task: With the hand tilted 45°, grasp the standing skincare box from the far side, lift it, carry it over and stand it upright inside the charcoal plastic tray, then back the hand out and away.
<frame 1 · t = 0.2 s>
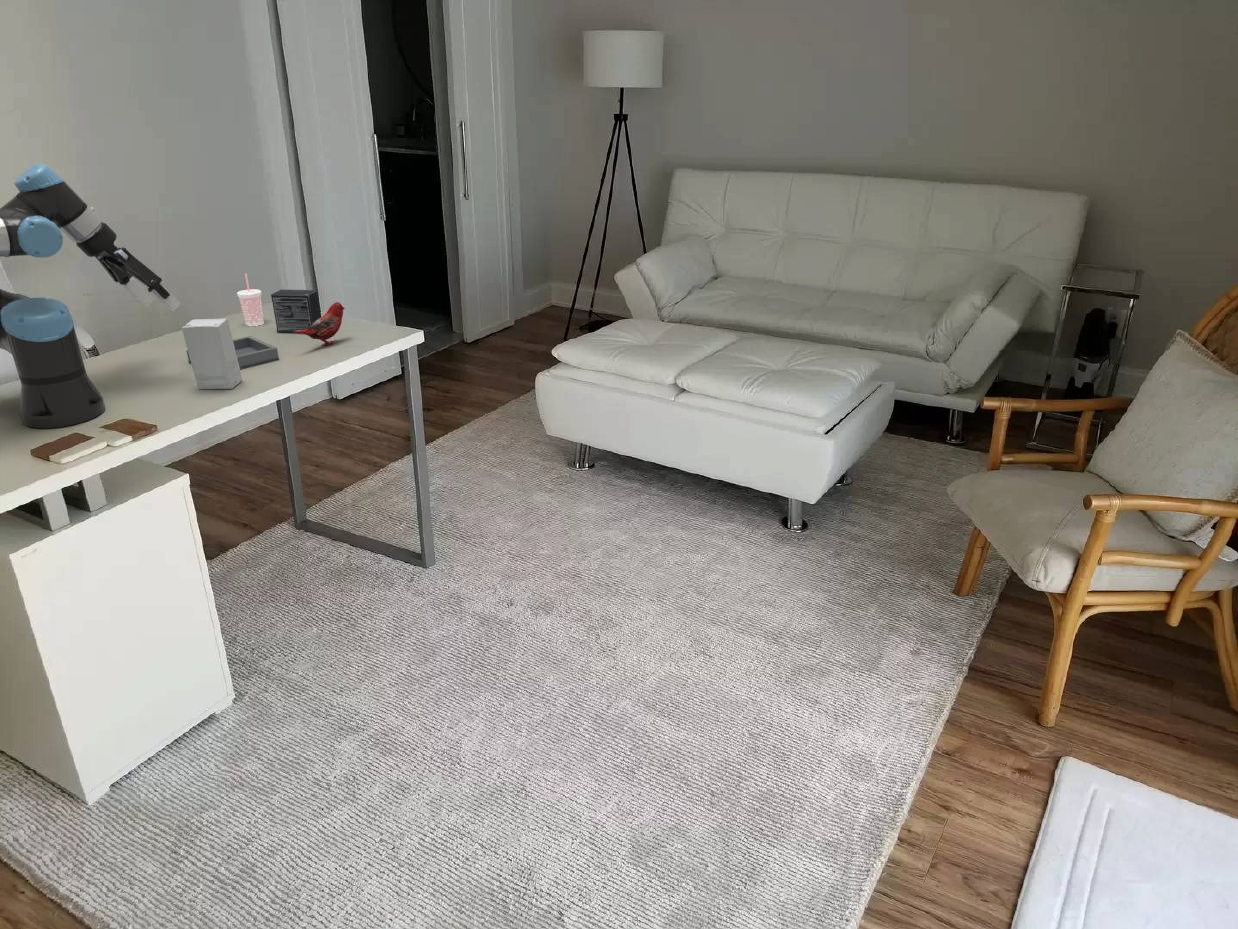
hand: (163, 305, 206), 15 cm above the table, tool tilted 30°, fingers open, 13 cm apart
tray: (234, 360, 217), on the table
decorative bird figurine: (323, 347, 228), on the table
skincare box: (219, 386, 202), on the table
small box: (300, 330, 241), on the table
beverage cup: (255, 324, 245), on the table
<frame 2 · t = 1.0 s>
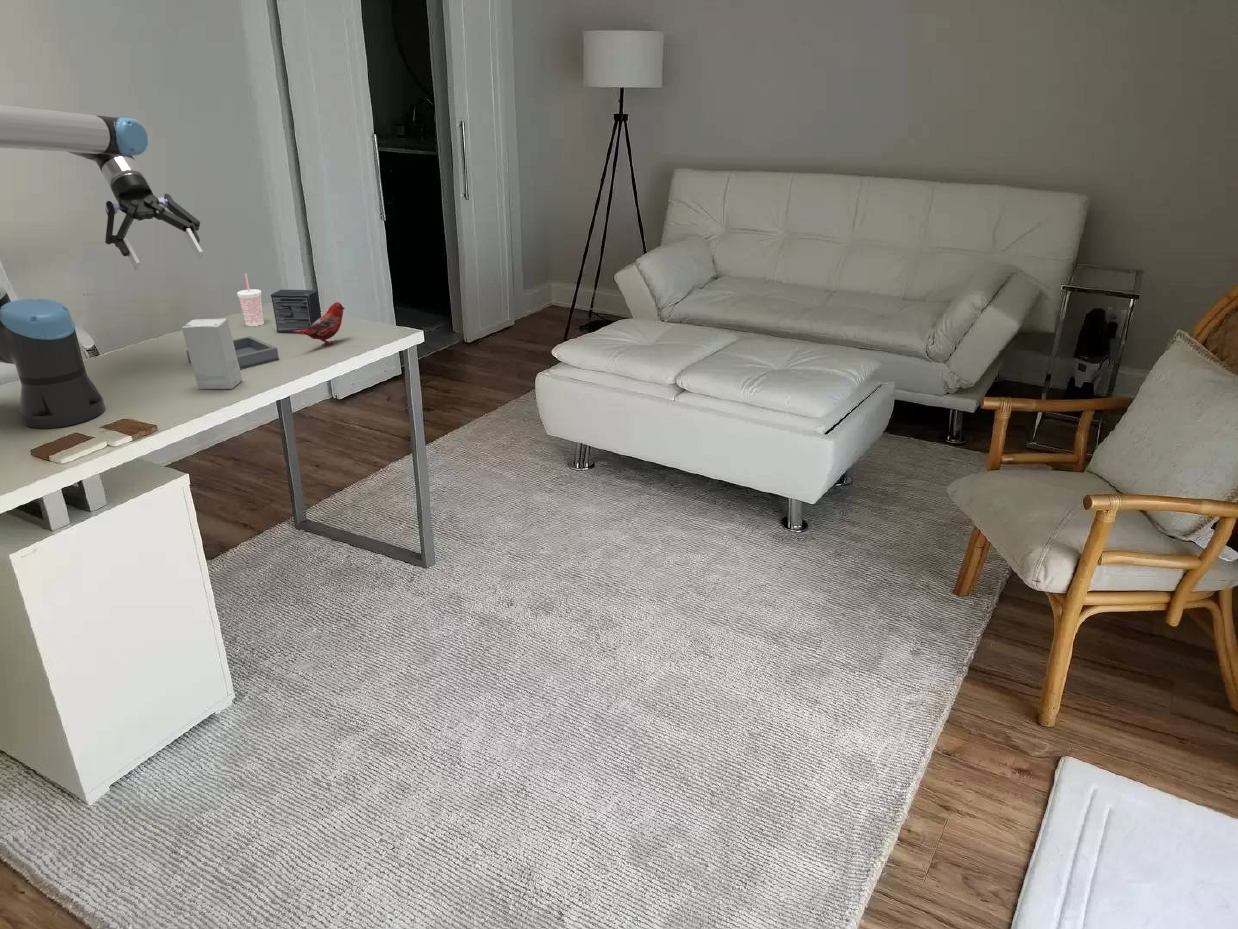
hand: (169, 260, 199), 26 cm above the table, tool tilted 45°, fingers open, 13 cm apart
nothing on the table moved.
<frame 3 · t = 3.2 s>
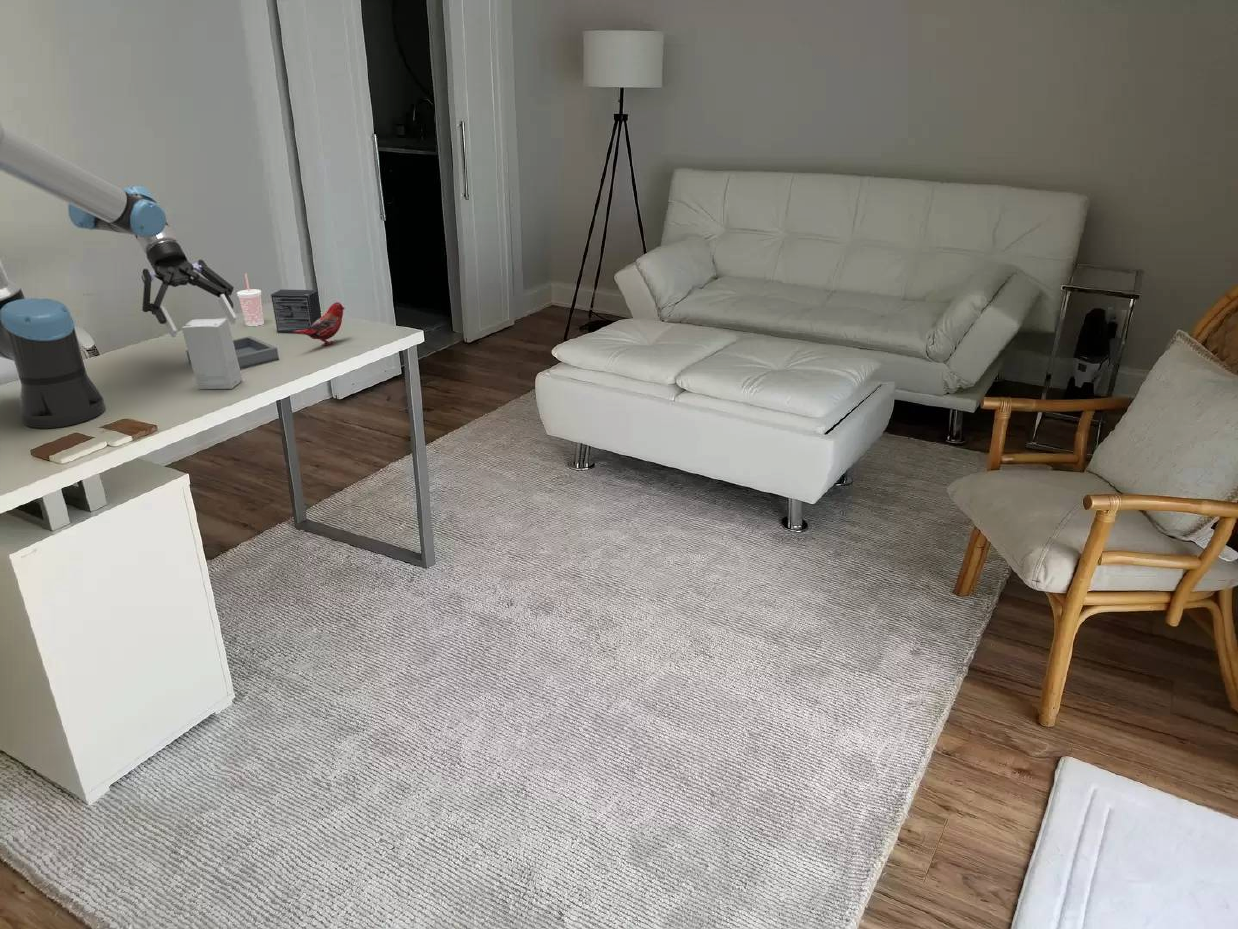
hand: (205, 327, 202), 12 cm above the table, tool tilted 45°, fingers open, 13 cm apart
nothing on the table moved.
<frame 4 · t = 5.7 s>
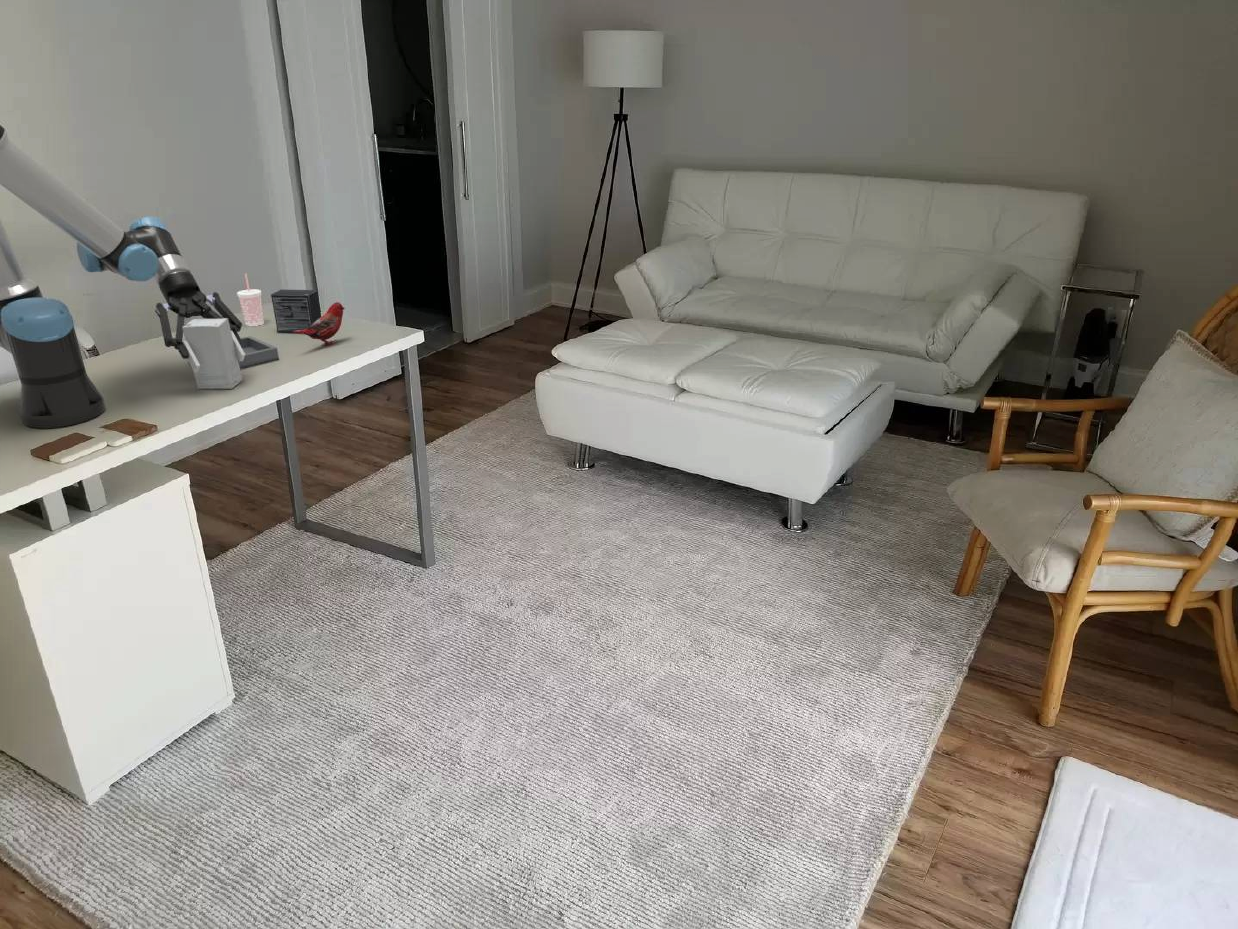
hand: (220, 363, 198), 6 cm above the table, tool tilted 45°, fingers closed on skincare box, 9 cm apart
skincare box: (219, 386, 202), on the table, touching gripper
everything else where it was.
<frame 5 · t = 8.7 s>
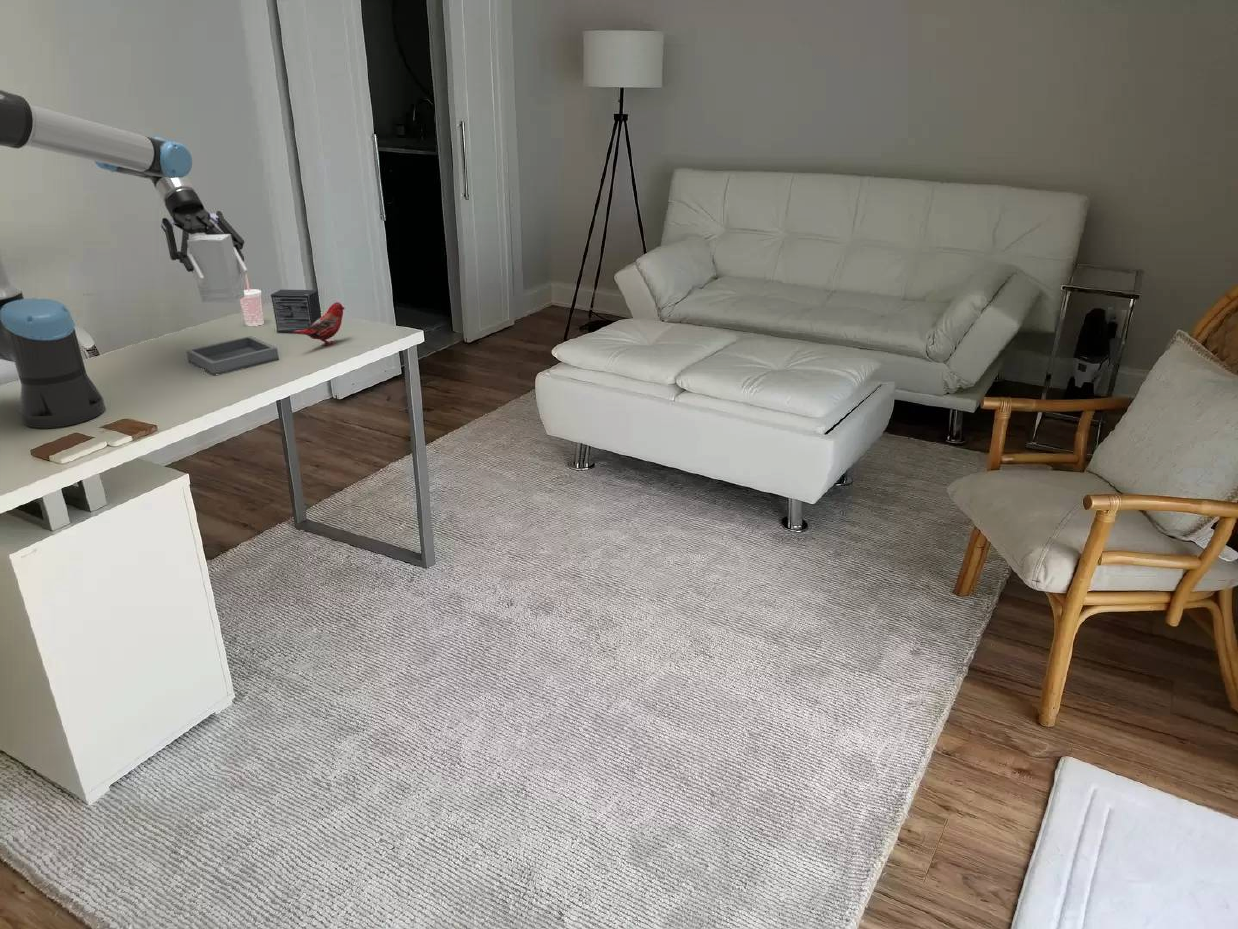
hand: (223, 277, 206), 21 cm above the table, tool tilted 45°, fingers closed on skincare box, 9 cm apart
skincare box: (222, 300, 211), point 15 cm above the table, touching gripper
everything else where it was.
when the fingers open (8 cm above the table, at t = 12.1 s): skincare box drops 1 cm, resting on tray.
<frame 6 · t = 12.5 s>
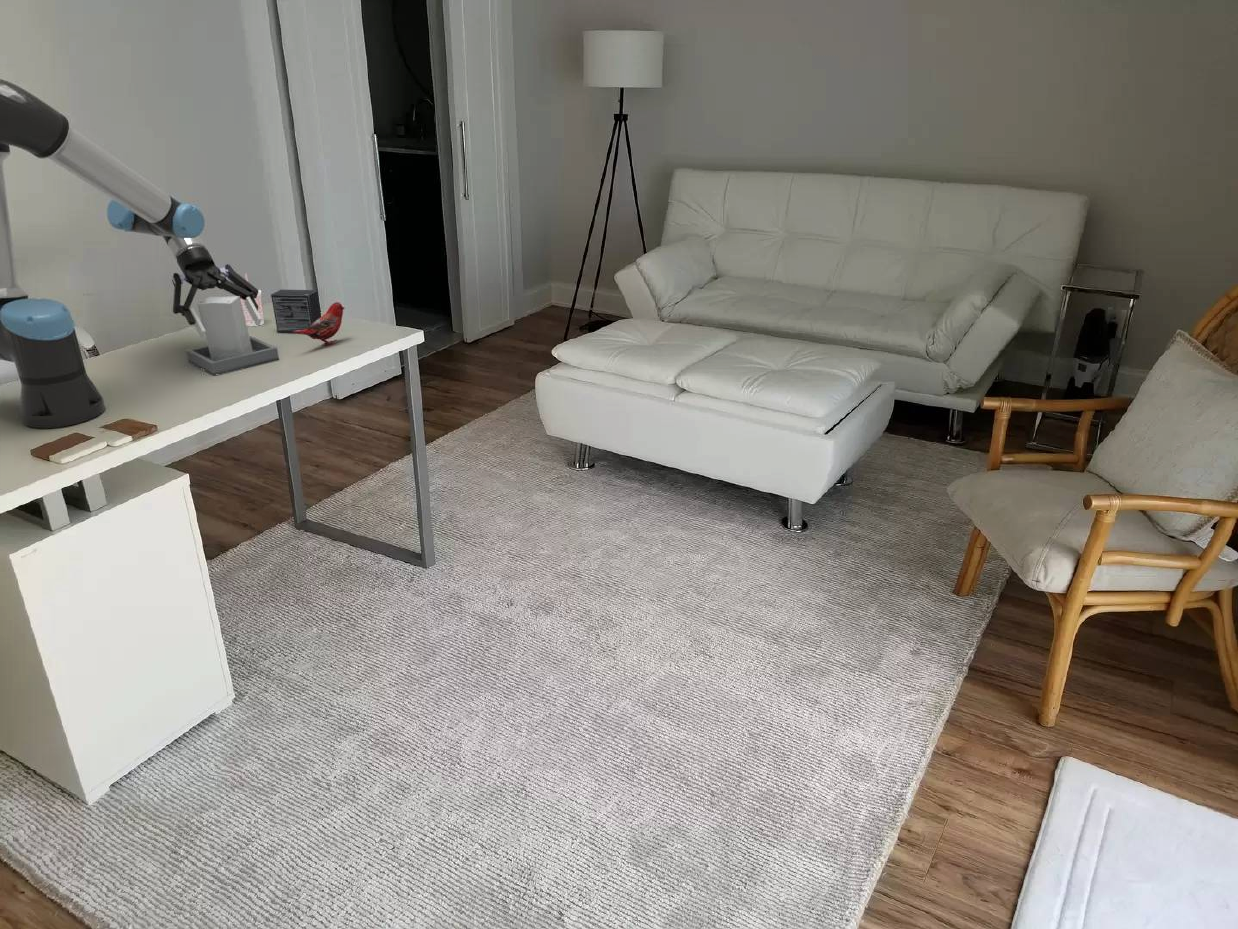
hand: (231, 328, 212), 9 cm above the table, tool tilted 45°, fingers open, 13 cm apart
skincare box: (231, 359, 217), resting on tray
everything else where it was.
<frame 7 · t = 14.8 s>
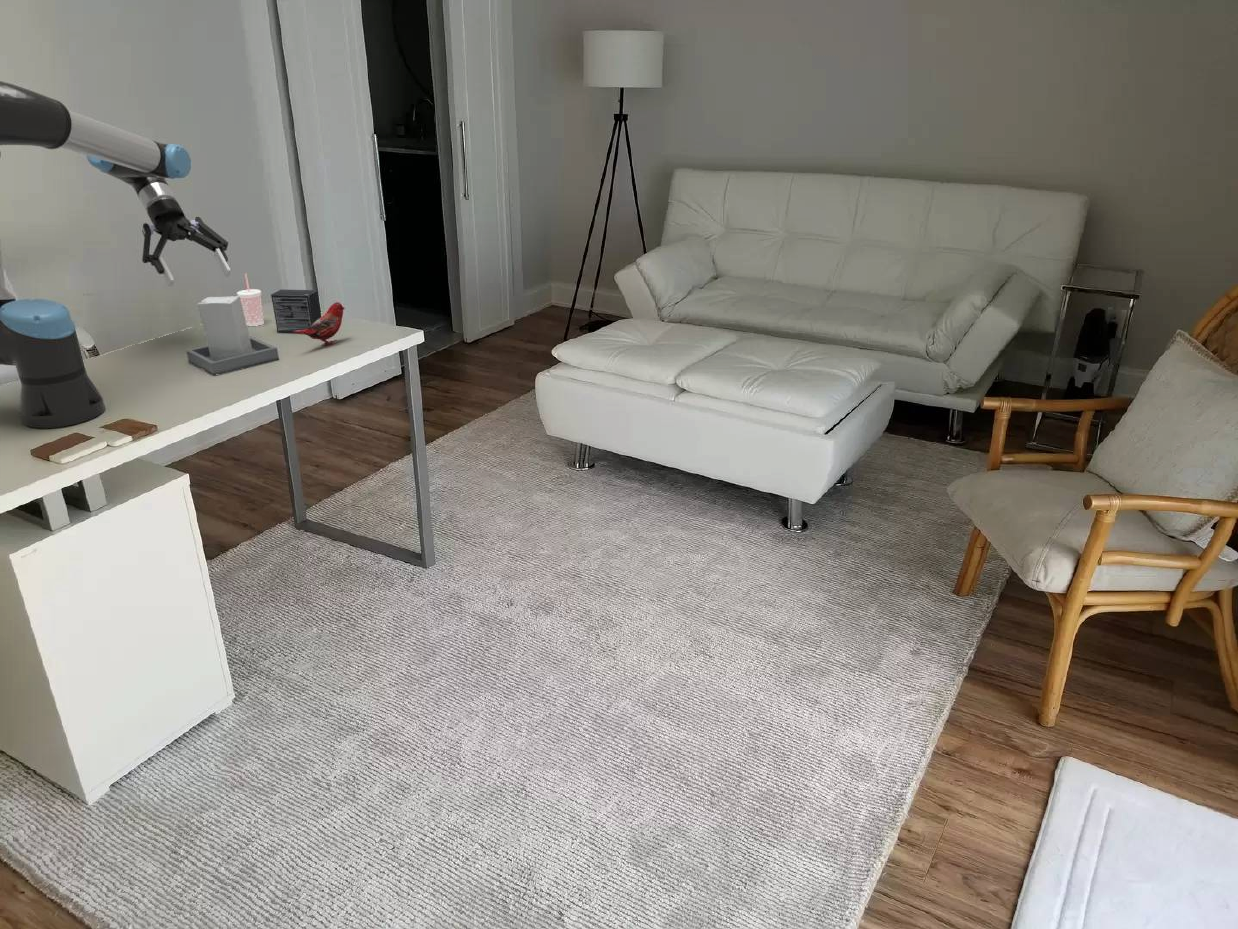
hand: (200, 278, 216), 18 cm above the table, tool tilted 45°, fingers open, 13 cm apart
nothing on the table moved.
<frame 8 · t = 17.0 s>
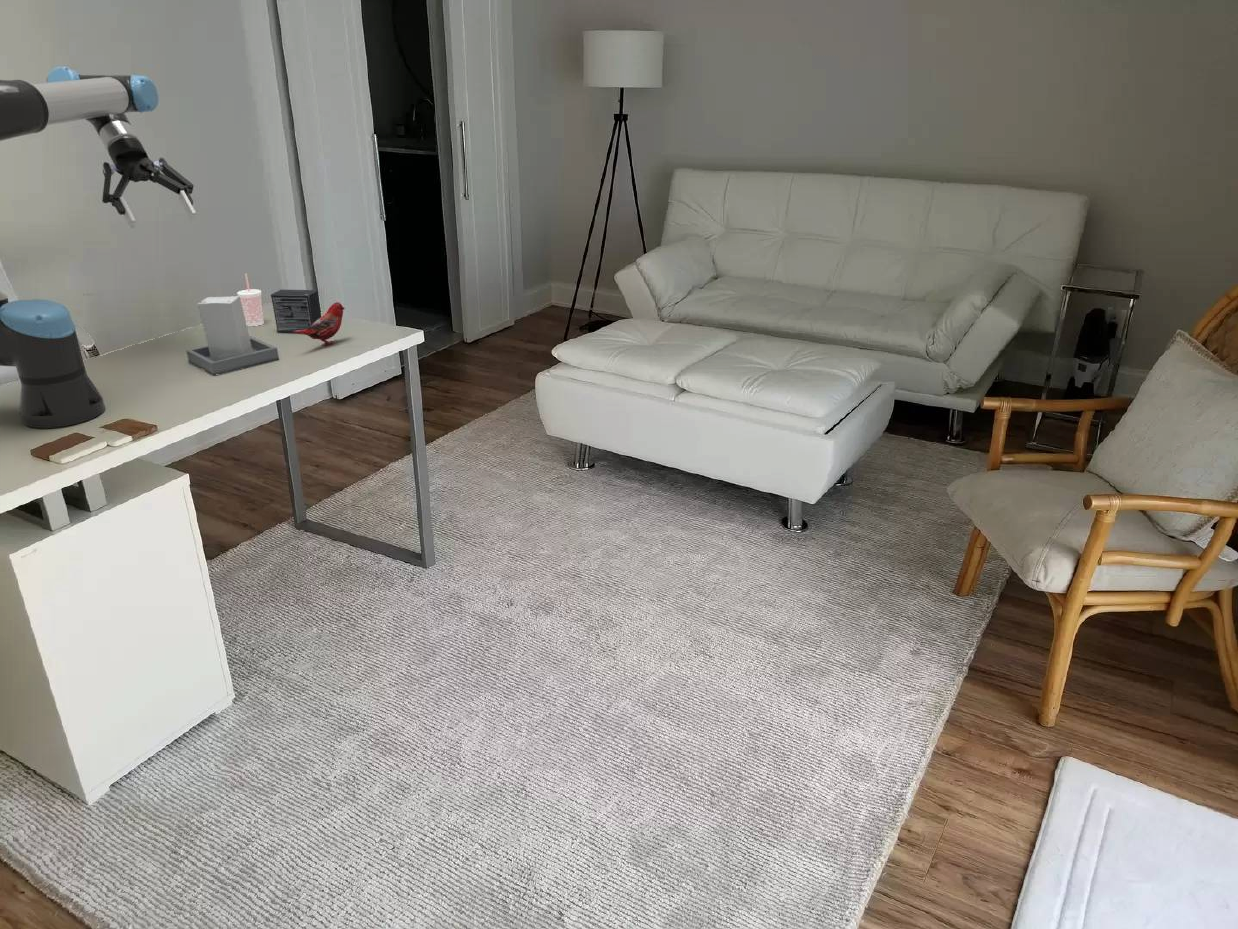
hand: (164, 220, 207), 33 cm above the table, tool tilted 45°, fingers open, 13 cm apart
nothing on the table moved.
at the end: skincare box inside the target area on the tray (0.4 cm from its centre), point 0.4 cm above the tray's base; skincare box tilted 0°; the gripper is holding nothing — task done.
